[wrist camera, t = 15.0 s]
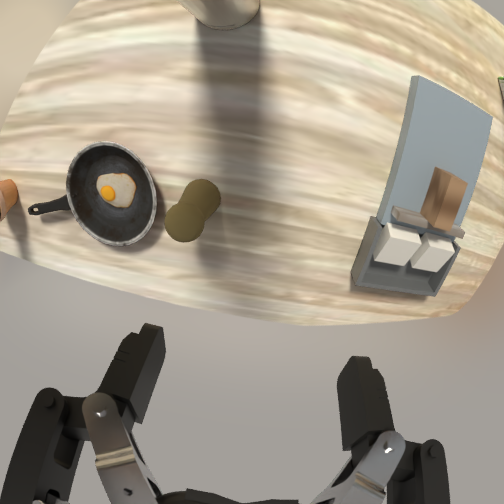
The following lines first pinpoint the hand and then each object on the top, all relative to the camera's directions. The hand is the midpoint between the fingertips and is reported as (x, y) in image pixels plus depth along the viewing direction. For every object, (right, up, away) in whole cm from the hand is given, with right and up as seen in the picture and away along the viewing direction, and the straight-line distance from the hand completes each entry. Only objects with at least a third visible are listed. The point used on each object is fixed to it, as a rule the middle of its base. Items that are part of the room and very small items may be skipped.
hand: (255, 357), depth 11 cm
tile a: (+31, +5, +31) cm, 44 cm away
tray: (+27, +4, +34) cm, 43 cm away
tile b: (+23, +7, +31) cm, 39 cm away
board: (+29, +19, +25) cm, 43 cm away
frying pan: (-30, +15, +33) cm, 47 cm away
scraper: (+29, +14, +25) cm, 40 cm away
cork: (-8, +13, +32) cm, 35 cm away
